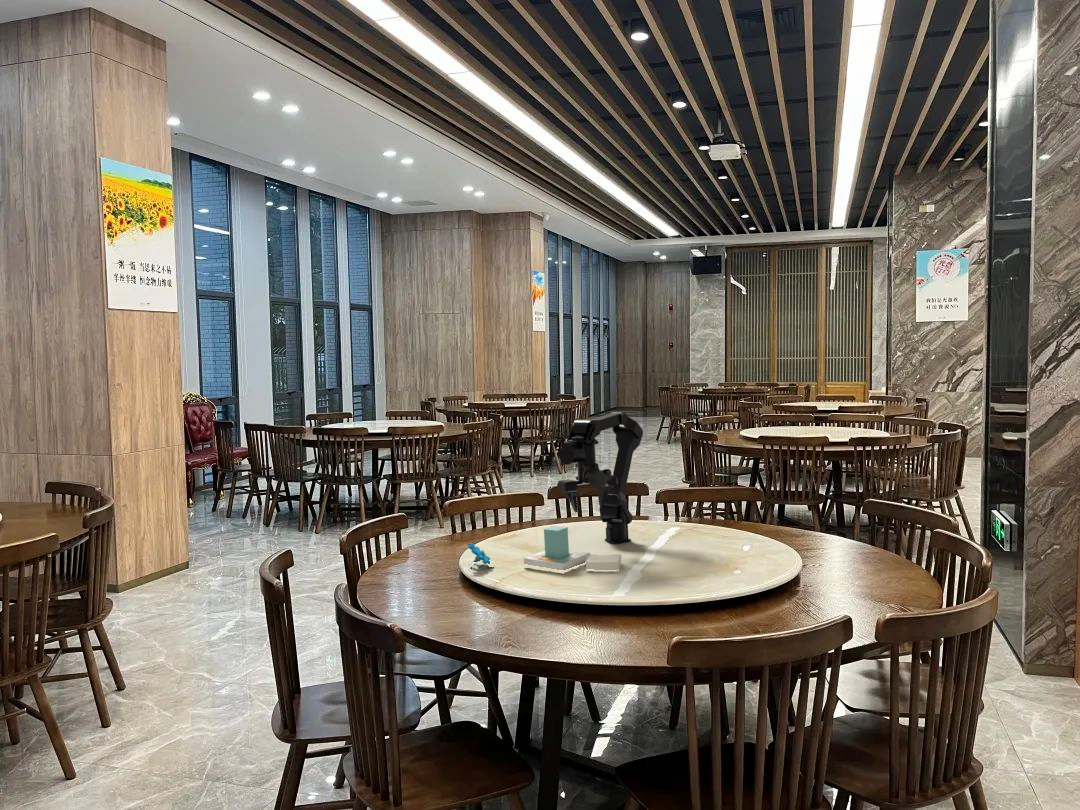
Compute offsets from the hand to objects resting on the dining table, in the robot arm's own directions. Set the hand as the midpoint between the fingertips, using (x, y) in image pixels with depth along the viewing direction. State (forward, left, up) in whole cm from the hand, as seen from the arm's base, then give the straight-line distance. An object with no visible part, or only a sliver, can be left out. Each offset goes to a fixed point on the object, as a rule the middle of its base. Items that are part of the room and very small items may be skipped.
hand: (588, 510), depth 274 cm
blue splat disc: (+35, -5, -13) cm, 38 cm away
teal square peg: (+16, +8, -13) cm, 22 cm away
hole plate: (+16, +8, -13) cm, 22 cm away
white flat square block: (+7, +19, -13) cm, 24 cm away
